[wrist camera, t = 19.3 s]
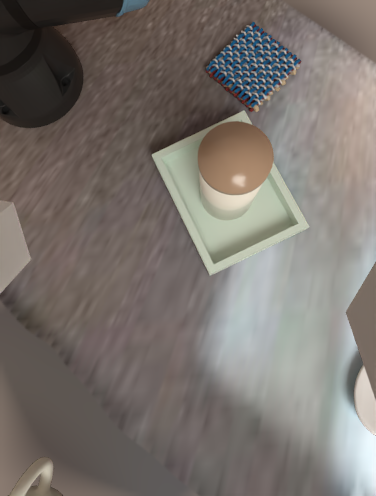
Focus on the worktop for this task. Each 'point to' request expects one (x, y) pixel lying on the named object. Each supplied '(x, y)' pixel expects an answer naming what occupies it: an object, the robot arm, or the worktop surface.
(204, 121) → the worktop surface
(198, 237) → the tray
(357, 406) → the spoon
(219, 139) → the canister
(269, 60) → the woven mat
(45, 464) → the pitcher
